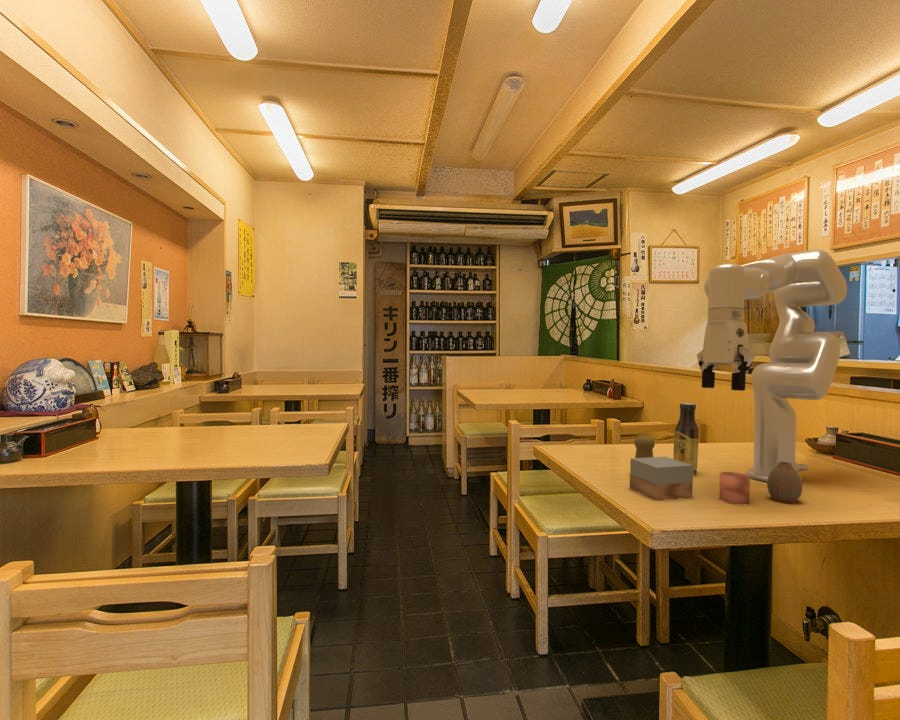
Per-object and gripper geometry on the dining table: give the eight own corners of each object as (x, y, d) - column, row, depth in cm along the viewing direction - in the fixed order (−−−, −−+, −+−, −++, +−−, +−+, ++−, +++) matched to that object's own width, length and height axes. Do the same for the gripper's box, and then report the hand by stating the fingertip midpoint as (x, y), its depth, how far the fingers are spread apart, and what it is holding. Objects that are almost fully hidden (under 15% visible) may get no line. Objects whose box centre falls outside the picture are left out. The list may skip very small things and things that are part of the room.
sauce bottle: (668, 470, 144) (669, 401, 144) (689, 470, 145) (690, 401, 145) (681, 476, 138) (682, 404, 137) (702, 475, 138) (704, 404, 138)
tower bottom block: (664, 488, 127) (664, 472, 127) (692, 499, 117) (692, 482, 117) (629, 490, 125) (629, 474, 125) (655, 502, 115) (655, 485, 115)
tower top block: (664, 472, 127) (665, 456, 127) (693, 482, 118) (693, 465, 117) (630, 474, 125) (630, 458, 125) (656, 484, 115) (656, 467, 115)
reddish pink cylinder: (734, 496, 119) (735, 471, 119) (755, 503, 113) (756, 477, 113) (713, 497, 118) (713, 472, 118) (733, 505, 112) (734, 479, 112)
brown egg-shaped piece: (803, 506, 112) (804, 467, 111) (766, 501, 115) (767, 463, 115) (801, 498, 117) (802, 461, 117) (766, 494, 121) (767, 458, 121)
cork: (657, 479, 134) (658, 439, 133) (634, 478, 135) (634, 438, 135) (653, 474, 139) (654, 435, 139) (630, 473, 141) (631, 434, 140)
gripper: (768, 315, 111) (765, 392, 111) (712, 320, 128) (710, 387, 128) (739, 313, 110) (736, 391, 110) (687, 319, 127) (684, 386, 127)
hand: (722, 389), depth 119 cm, fingers open, 9 cm apart
